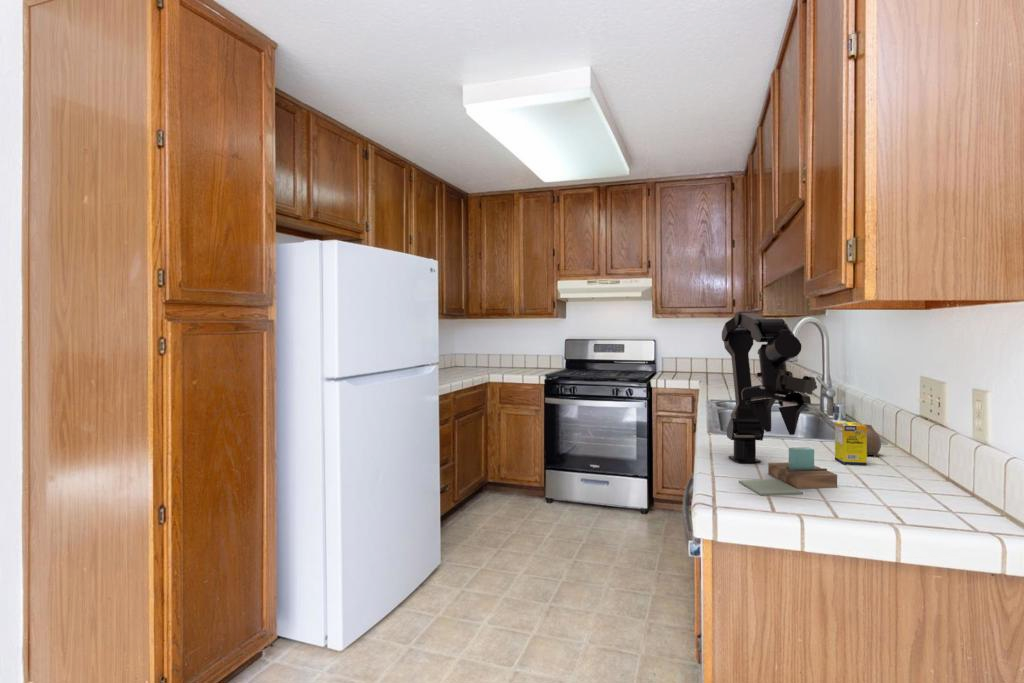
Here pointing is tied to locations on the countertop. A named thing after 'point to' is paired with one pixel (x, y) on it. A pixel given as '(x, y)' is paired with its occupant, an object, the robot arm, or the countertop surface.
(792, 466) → the tall teal box
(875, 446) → the vase
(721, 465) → the countertop surface
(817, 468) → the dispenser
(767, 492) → the mat
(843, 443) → the supplement box
